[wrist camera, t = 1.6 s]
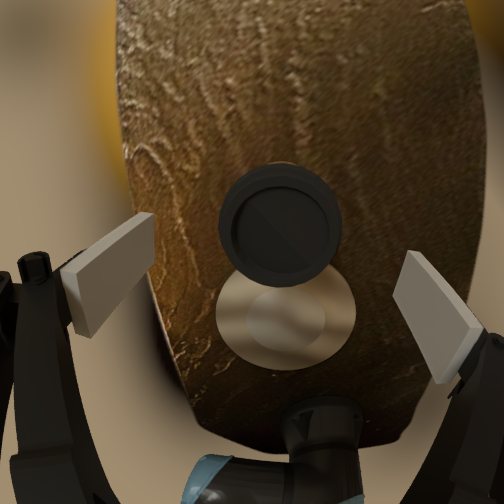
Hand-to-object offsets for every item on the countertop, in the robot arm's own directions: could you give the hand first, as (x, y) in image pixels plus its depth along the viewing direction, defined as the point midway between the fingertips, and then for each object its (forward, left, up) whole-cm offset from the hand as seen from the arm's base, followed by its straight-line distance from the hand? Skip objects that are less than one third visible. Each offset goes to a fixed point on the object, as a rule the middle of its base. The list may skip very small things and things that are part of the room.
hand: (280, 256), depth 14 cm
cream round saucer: (-16, -3, -19) cm, 25 cm away
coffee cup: (0, 0, -19) cm, 19 cm away
